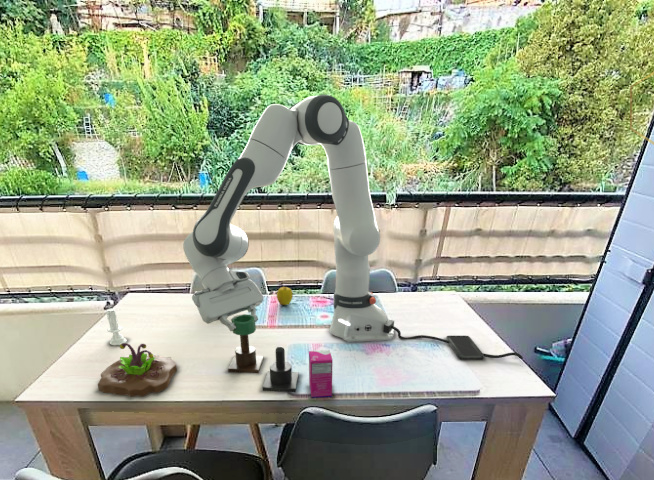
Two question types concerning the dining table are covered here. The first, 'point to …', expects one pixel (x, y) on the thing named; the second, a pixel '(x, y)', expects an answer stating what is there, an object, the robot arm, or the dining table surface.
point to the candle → (114, 328)
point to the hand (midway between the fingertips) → (245, 325)
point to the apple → (284, 295)
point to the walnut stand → (246, 358)
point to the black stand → (280, 375)
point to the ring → (244, 324)
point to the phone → (464, 352)
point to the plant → (137, 374)
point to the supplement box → (320, 373)
